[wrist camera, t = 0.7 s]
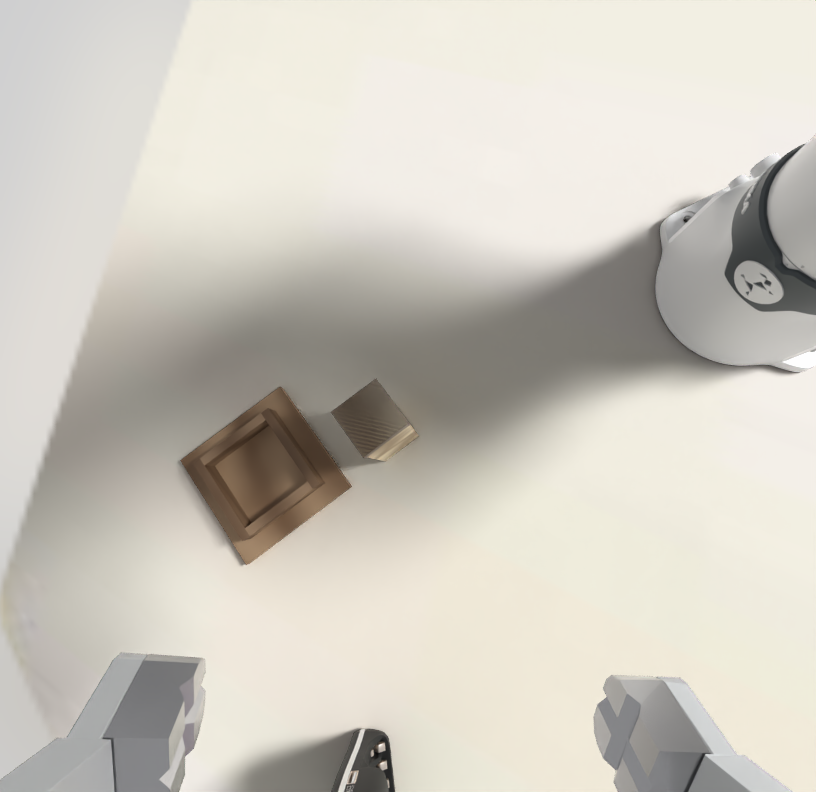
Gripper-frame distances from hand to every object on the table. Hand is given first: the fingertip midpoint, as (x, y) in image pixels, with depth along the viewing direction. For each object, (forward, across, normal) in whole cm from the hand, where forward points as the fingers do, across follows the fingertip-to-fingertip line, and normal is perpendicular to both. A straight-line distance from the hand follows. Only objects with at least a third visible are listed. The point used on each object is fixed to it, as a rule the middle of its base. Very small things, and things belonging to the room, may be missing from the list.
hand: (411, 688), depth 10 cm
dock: (+36, +9, +15) cm, 40 cm away
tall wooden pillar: (+36, -2, +10) cm, 37 cm away
